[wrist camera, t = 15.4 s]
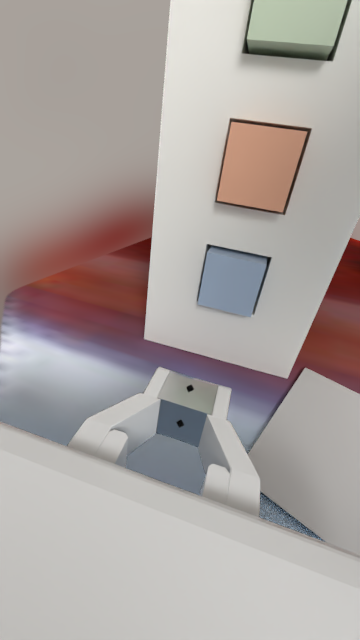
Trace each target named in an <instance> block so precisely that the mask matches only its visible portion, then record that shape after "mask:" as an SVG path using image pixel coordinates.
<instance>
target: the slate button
mask: <svg viewBox="0 0 360 640" xmlns="http://www.w3.org/2000/svg"><path fill="white" fill-rule="evenodd" d="M266 266H267V256H263V255H258V254H253V253H248V252H243V251H239V250H234V249H229V248H224V247H219V246H215V245H212V246H211V248H210V249H209V250H208V252H207V256H206V262H205V267H204V272H203V278H202V283H201V289H200V294H199V299H198V304H199V305H203V306H207V307H211V308H215V309H219V310H223V311H227V312H231V313H235V314H240V315H244V316H248V317H251V315H252V312H253V308H254V305H255V302H256V298H257V295H258V292H259V289H260V285H261V282H262V279H263V276H264V272H265V269H266Z"/></svg>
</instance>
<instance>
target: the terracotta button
mask: <svg viewBox="0 0 360 640" xmlns="http://www.w3.org/2000/svg"><path fill="white" fill-rule="evenodd" d="M306 135H307V131H299V130H291V129H284V128H276V127H268V126H261V125H253V124H245V123H238V122H231V127H230V132H229V138H228V143H227V148H226V154H225V159H224V165H223V170H222V175H221V181H220V186H219V191H218V197H217V201H222V202H228V203H233V204H239V205H244V206H250V207H255V208H261V209H266V210H272V211H278V212H283V210H284V207H285V204H286V200H287V197H288V194H289V191H290V187H291V184H292V181H293V177H294V174H295V171H296V168H297V164H298V161H299V158H300V155H301V151H302V148H303V145H304V142H305V138H306Z"/></svg>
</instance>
